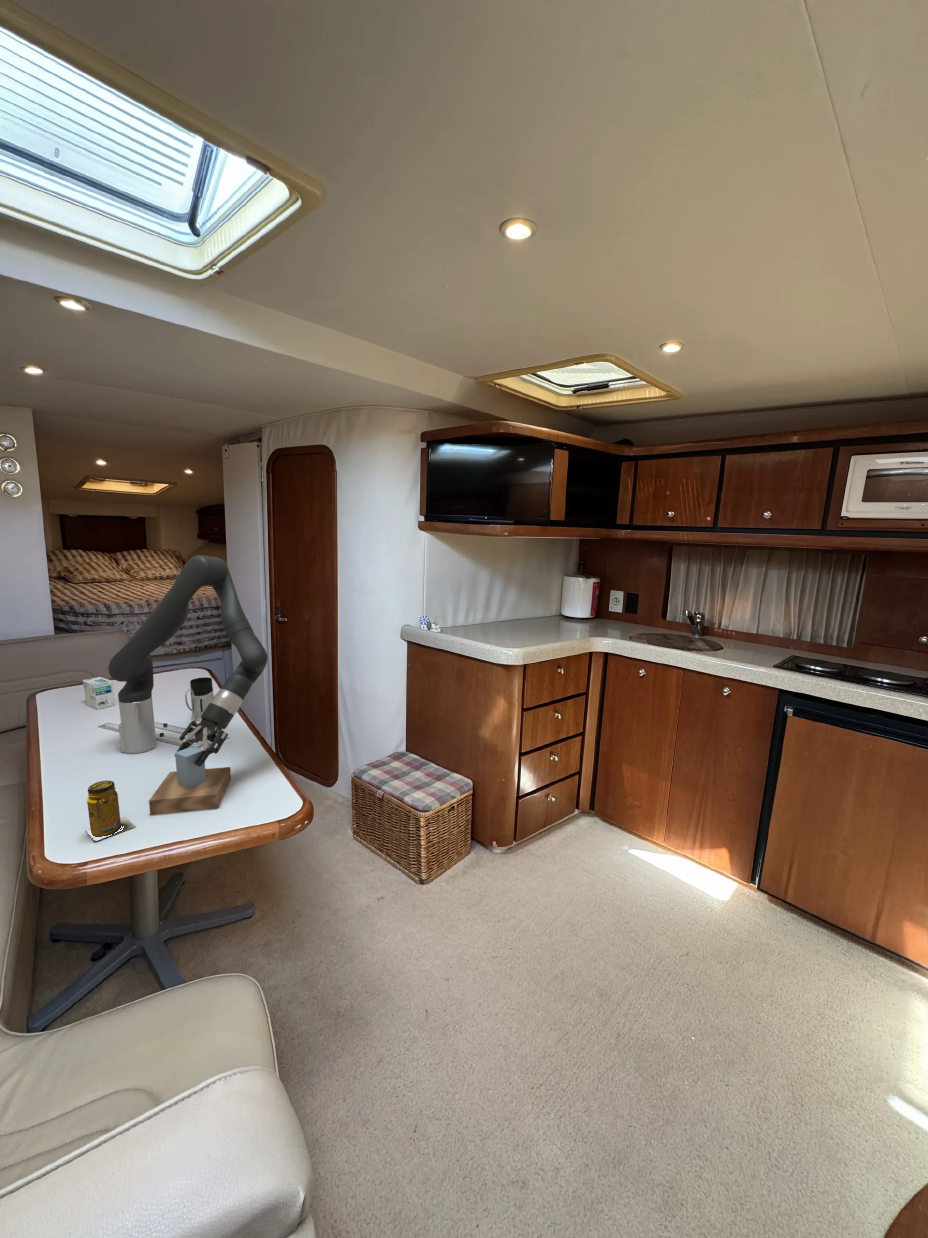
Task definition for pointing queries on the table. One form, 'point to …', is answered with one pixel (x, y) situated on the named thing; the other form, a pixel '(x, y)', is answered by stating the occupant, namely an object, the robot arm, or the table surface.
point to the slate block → (189, 767)
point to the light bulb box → (99, 692)
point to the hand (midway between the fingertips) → (187, 761)
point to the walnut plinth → (190, 793)
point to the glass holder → (199, 696)
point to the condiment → (105, 810)
